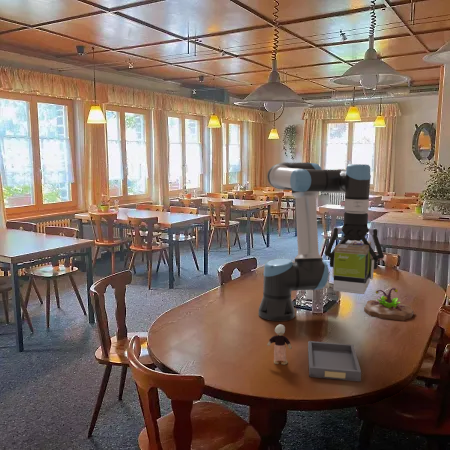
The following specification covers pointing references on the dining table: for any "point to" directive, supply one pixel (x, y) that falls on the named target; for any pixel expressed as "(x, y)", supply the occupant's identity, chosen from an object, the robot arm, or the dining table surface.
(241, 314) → the dining table surface
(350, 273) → the tea box
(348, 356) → the slot tray
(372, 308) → the plant
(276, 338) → the grandmother figurine
